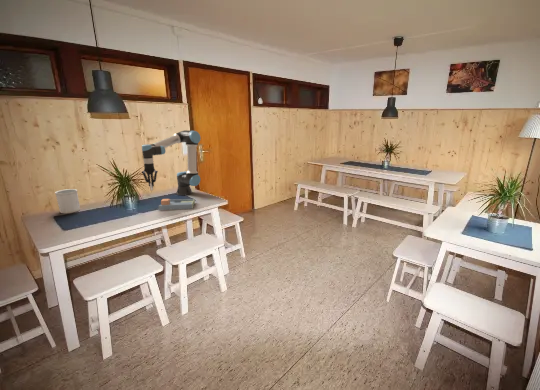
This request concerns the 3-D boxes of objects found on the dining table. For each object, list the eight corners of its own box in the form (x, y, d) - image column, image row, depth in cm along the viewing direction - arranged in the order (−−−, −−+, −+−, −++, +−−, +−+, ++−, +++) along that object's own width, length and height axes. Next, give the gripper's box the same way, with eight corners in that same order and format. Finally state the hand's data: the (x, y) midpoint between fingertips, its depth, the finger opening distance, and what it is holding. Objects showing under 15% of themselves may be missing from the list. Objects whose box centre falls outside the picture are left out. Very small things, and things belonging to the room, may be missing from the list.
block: (163, 203, 234) (162, 198, 233) (170, 202, 235) (169, 198, 234) (161, 205, 229) (160, 200, 228) (168, 205, 229) (167, 200, 228)
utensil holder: (71, 207, 230) (67, 188, 225) (85, 208, 227) (81, 189, 222) (55, 213, 216) (50, 192, 211) (69, 214, 213) (65, 193, 209)
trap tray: (163, 204, 240) (163, 199, 239) (195, 203, 243) (194, 198, 242) (158, 209, 224) (158, 205, 223) (192, 208, 228) (191, 204, 227)
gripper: (139, 163, 216) (142, 191, 222) (155, 163, 217) (158, 190, 224) (142, 162, 223) (145, 189, 230) (158, 162, 225) (160, 188, 231)
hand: (151, 190), depth 227 cm, fingers closed
